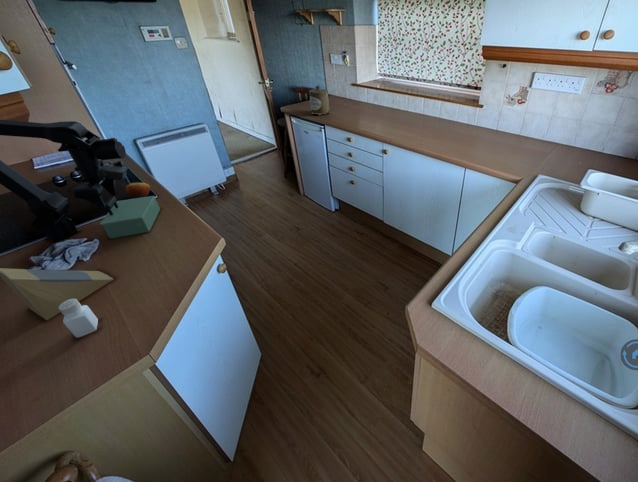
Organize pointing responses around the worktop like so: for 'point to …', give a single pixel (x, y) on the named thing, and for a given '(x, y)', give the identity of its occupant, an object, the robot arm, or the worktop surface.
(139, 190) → the fruit
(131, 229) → the green lidded box
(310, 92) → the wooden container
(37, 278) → the sandwich container
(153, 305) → the worktop surface
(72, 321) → the white pill bottle
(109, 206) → the bin lid
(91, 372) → the worktop surface
